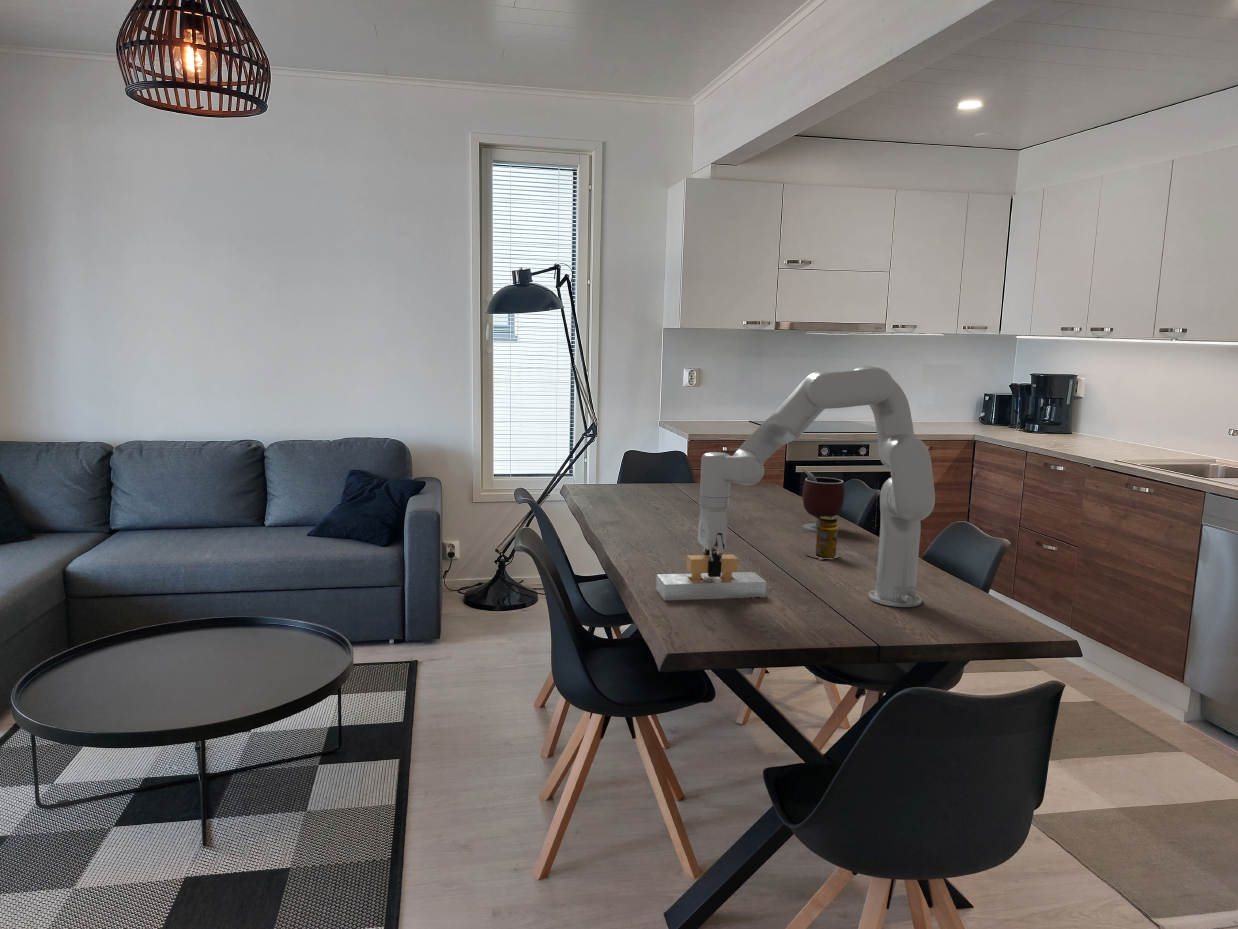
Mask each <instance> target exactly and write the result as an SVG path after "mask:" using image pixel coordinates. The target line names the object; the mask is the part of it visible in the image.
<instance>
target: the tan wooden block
mask: <svg viewBox="0 0 1238 929" xmlns="http://www.w3.org/2000/svg"><path fill="white" fill-rule="evenodd" d="M738 560H739V559H738V557H737V556H736V555H734V554H723V555H722V561H721V573H722V578H721V580H732V573H734V572H738ZM708 561H710V555H703V554H701V555H700V554H697V555H696V554H695V555H694V554H693V555H689V554H688V555H686V568H685V569H686V570H687V571H688V572H689V574H691V581H698V580H701V573H708Z"/></svg>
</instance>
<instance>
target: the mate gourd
mask: <svg viewBox="0 0 1238 929" xmlns="http://www.w3.org/2000/svg"><path fill="white" fill-rule="evenodd" d="M801 470H802V472H804V473H805V474H806V475H807V477H806V478H805V479H804V484H803V489H802V503H803V507H804V510H805V511H806V512H807V514H808V515H810V516H812V517H814V518H816V519H817V521H816V522H815V523H814V522H813V523H806V524H803V526H802V528H805V529H806V530H805V529H804V530H805V531H808V530H810V531H809V532H812V531H816V532H815V533H817V526H818V524H819V517H821V516H831V517H835V516H837V515H838V514H839V513H840V512H841V511H842V509H843V505H844V501H845V485H844V480H842V479H839V478H835V477H824V476H823V477H822V476H815V475H814V474H813V473H812V472H810V471H809V470H807V469H805V468H802V469H801ZM837 528H838V531H839V532H840V527H839V526H837Z"/></svg>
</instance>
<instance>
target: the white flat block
mask: <svg viewBox="0 0 1238 929" xmlns="http://www.w3.org/2000/svg"><path fill="white" fill-rule="evenodd" d="M721 578H722V572H721V576H720V577H709V576H708V573H701V580H698V581H691V573H665V574H663V573H661V574H656V580H655V581H656V582H655V583H656V586H655V591H656V592H657V593H658V594H659V595H660V597H661V598H662V599H663V600H664V601H688V600H690V601H691V600H717V599H718V600H721V599H724V600H725V599H726V600H727V599H748V598H749V599H754V598H755V597H760V598H766V597H767V580H765V579H764V578H762V577H761V576H760V575H758V573H756V572H755V571H748V572H747V571H744V572H743V571H742V572H741V571H739V572H738V571H737V572H732V580H721ZM750 597H752V598H750Z"/></svg>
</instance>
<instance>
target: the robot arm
mask: <svg viewBox="0 0 1238 929" xmlns="http://www.w3.org/2000/svg"><path fill="white" fill-rule="evenodd" d="M861 406H869V408H870V409H871V410H872V411H871V412H872V414H873V418H874V422H875V428H876V436H877V438H876V439H877V446H878V447H877V448H878V456H879V460H880V462H881V463H882V465H883V466H884V467H885V468H887V470H888V469H889V471H890V476H891V477H889V478H888V479H887V480H885V482H884V483H883V484H882V487H881V490H880V495H879V510H880V524H879V525H880V526H879V527H880V528H879V539H878V550H877V551H878V552H877V565H876V578H875V579H876V580H875V588H874V589H871V590H870V591H868V598H869V600H871V601H873V602H874V603H877V604H880V605H883V606H889V607H896V608H911V607H912V608H914V607H917V606H920V605H921V604H922V597H921V596H920V595H918V594H917V579H918V578H917V577H918V574H917V573H918V564H919V553H920V552H919V550H920V541H921V530H922V528H921V521H923V520H924V519H926V518H927V517H929V516H930V515H931V514H932V512H933V510H934V509H935V504H936V502H935V501H936V492H935V484H934V474H933V473H934V471H933V465H932V459H931V454H930V451H929V449H928V446H927V445H926V444H925V442H924V441H923V440H921V439H920V438H918V437H917V436H916V434H915V431H914V425H913V419H912V418H913V417H912V412H911V409H910V408H911V407H910V405H909V400H908V398H907V395H906V394H905V392H904V390H903V389H902V387H901V385H899V384H898V383H897V381H895V379H894V378H893V377H892V376H891V374H890V373H889V372H888V371H887V370H885V369H884V368H881V367H877V366H870V365H862V366H859V367H856V368H854V369H853V370H848V371H847V370H845V371H834V372H830V371H829V372H826V371H820V370H818V371H814V372H812V373H810V374H808V375H807V376H806V377H805V378H804V379H803V380H802V381H801V382H800V383H799V385H797V387H796V388H795V389H794V390H793V391H792V392H791V394H790V395H789V396H788V397H787V398H786V399H785V400H784V401H783V402H782V403H781V405H779V407H778V408H777V409H776V410H775V411H774V412H773V413H772V414H771V415H770V416H769V417H767V419H766V420H765V421H764V422H762V424H760V426H759V427H757V428H756V430H755V431H753V432H752V433H751V434H750V435H749V436H748V437H747V439H745V441H744V442H742V444H741V446H740V447H739V448H738V449H737V450H736V451H735V452H734V454H732V455H730V454H729V453H726V452H720V451H719V452H718V451H717V452H715V451H712V452H711V451H710V452H706V453H703V454H702V456H701V458H700V459H701V460H700V481H699V482H700V484H699V486H700V487H699V502H698V503H699V506H698V507H699V509H700V511H699V518H698V529H697V542H698V543H699V544H700V546H702V547H703V550H702V555H710V561H708V576H709V577H720V576H721V573H722V572H721V561H722V555H724V550H725V549H726V548H727V542H728V540H727V538H728V516H727V515H728V514H727V513H728V511H729V510H730V506H731V486H732V484H736V485H737V484H738V485H742V486H753V485H756V484H757V483H759V482H760V481H762V479H763V477H764V475H765V467H764V464H765V463H766V462H767V461H768V460H769V459H770V457H771V456H772V455H774V453H776V452H777V451H778V450H779V449H780V448H782V447H783V446H785V445H787V444H789V443H791V442H794V441H795V440H796V439H799V437H801V436H802V434H804V432H805V431H806V430H807V429H808V428H809V427H810V426H811V425H812V423H813V422H814V421H815V420H816V419H817V418H818V417H819V416H820V414H821V413H822V412H823V411H824V410H825V409H842V408H853V407H861Z"/></svg>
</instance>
